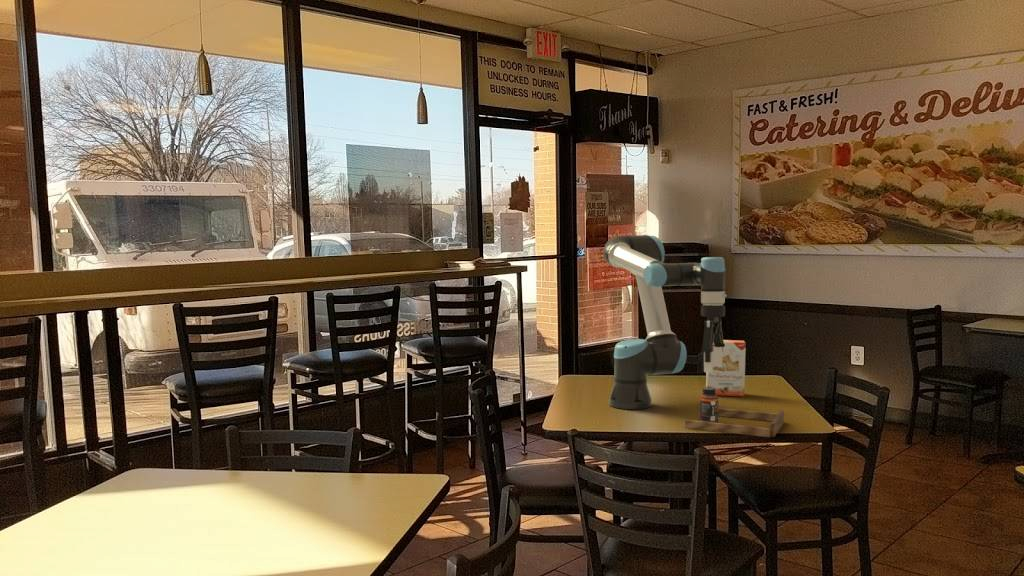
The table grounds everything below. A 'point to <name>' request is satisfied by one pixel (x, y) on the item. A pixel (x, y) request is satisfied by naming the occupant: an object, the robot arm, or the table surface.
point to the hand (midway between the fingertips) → (713, 369)
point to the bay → (739, 429)
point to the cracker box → (729, 370)
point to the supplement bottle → (708, 405)
